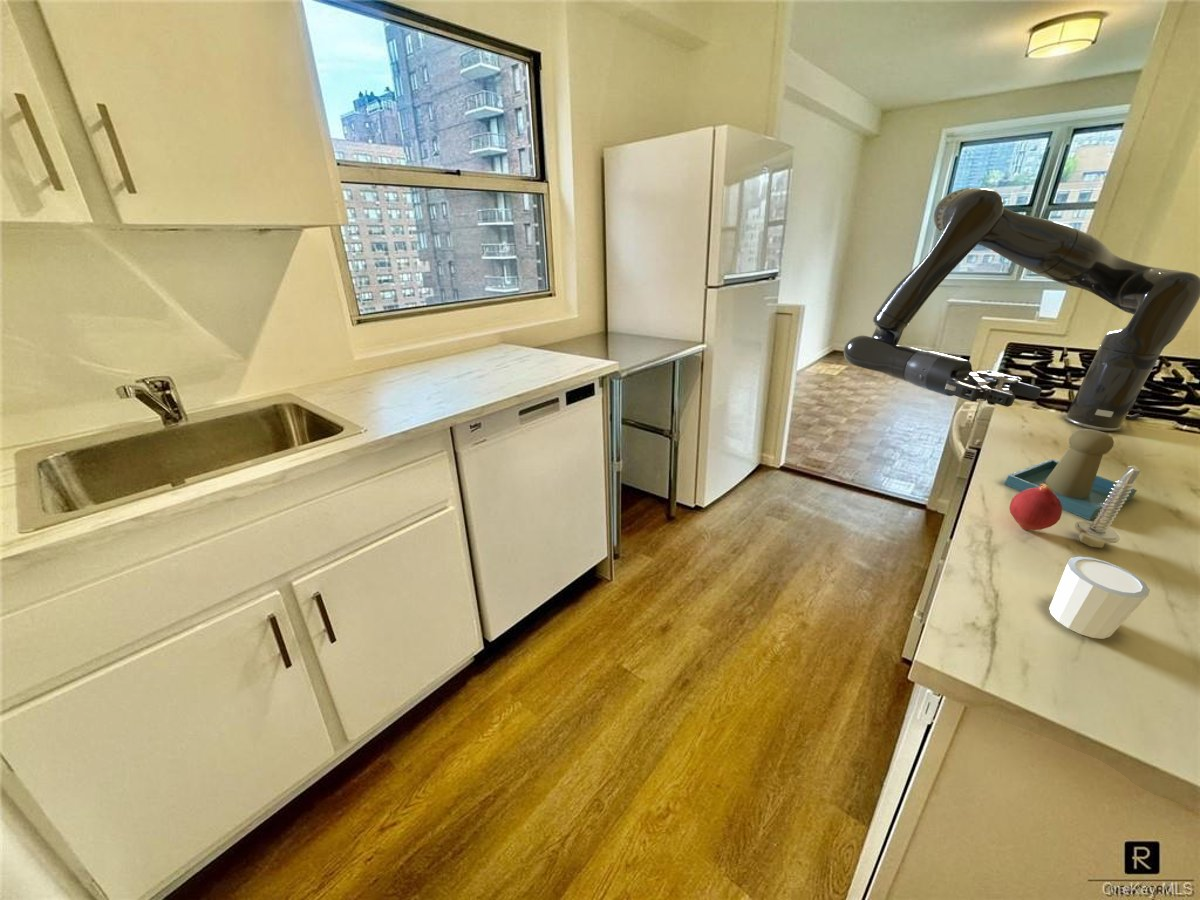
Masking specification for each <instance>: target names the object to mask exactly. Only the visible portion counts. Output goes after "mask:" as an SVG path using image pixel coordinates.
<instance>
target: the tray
mask: <svg viewBox="0 0 1200 900" xmlns="http://www.w3.org/2000/svg"><path fill="white" fill-rule="evenodd" d="M1058 463H1059V461H1058V460H1055V459H1053V458H1050V459H1047V460H1045V461H1042V462H1039V463H1037V464H1035V465H1031V466H1029V467H1027V468H1024V469H1021V470H1019V471H1015V472H1013V473H1010V474H1008V475H1007V477H1006V480H1005V482H1004V485H1006V486H1007V487H1010V488H1013V489H1015V490H1017V491H1019V492H1022V491H1024V490H1026V489H1030V488H1039V486H1040V484H1044V482H1045V480H1046V479H1047V478H1048V476H1049V475H1050V473H1051V472H1052V471H1053V469H1054V468H1055V467H1056V465H1057V464H1058ZM1114 484H1117V482H1116V481H1114V480H1111V479H1107V478H1104V477H1102V476H1099V475H1097V474H1096V477H1095V480H1094V483H1093V486H1092V489H1091V492H1090V495H1089V497H1088V498H1085V499H1077V498H1071V497H1067V496H1063V495H1060V494H1057V493H1055V492H1053V491H1052V492H1053V493H1054V494H1055V495H1056V496H1057V497H1058V498H1059V500H1060V502H1061V504H1062V510H1064V511H1067V512H1069V513H1070V514H1074V515H1076V516H1078V517H1080V518H1083V519H1085V520H1087V521H1091V520H1093V519H1096V517H1095V516H1098V512H1100V510H1099V509H1102V507H1101V506H1102V505H1104V503H1103V502H1106V500H1105V499H1108V496H1107V495H1110V494H1111V493H1110V492H1112V489H1111V488H1114V487H1115V486H1114ZM1136 492H1137V489H1136V488H1133V489H1131V493H1128V494H1129V496H1128V497H1126V498H1127V500H1124V502H1125V503H1127V502H1129V501H1131V500H1132V499H1133V497H1134V496H1135V494H1136Z"/></svg>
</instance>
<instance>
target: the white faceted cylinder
mask: <svg viewBox="0 0 1200 900" xmlns="http://www.w3.org/2000/svg"><path fill="white" fill-rule="evenodd" d="M1150 591H1151V590H1150V588H1149V586H1148V584H1147V583H1146V582H1145V581H1144V580H1143V579H1141V578H1140V577H1139V576H1138V575H1136V574H1134V573H1133V572H1131V571H1129V570H1127V569H1125V568H1124V567H1122V566H1119V565H1117V564H1114V563H1112V562H1109V561H1106V560H1103V559H1100V558H1099V559H1098V558H1095V557H1090V556H1075V557H1070V558H1069V560H1068V561H1067V563H1066V565H1065V567H1064V571H1063V573H1062V576H1061V578H1060V581H1059V583H1058V586H1057V587H1056V590H1055V593H1054V596H1053V598H1052V599H1051V602H1050V605H1049V608H1048V609H1049V613H1050V615H1051V616H1052V618H1054V619H1055V621H1057V622H1058V623H1059V624H1060V625H1062V626H1064V627H1065V628H1067V629H1068V630H1070V631H1073V632H1075V633H1077V634H1078V635H1082V636H1085V637H1088V638H1091V639H1101V640H1104V639H1107V638H1110V637H1112V635H1113V634H1114V633H1115V632H1116V631H1117V630H1118V628H1120V626H1122V624H1123V623H1125V621H1126V620H1127V619H1128V618H1129V617H1130V616H1132V614H1133V613H1134V612H1135V611H1136V610H1137V608H1138V607H1139V606H1140V605H1141V604H1142V603H1143V602H1144V601H1145V600H1146V599H1147V598H1148V597H1149V594H1150Z"/></svg>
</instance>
